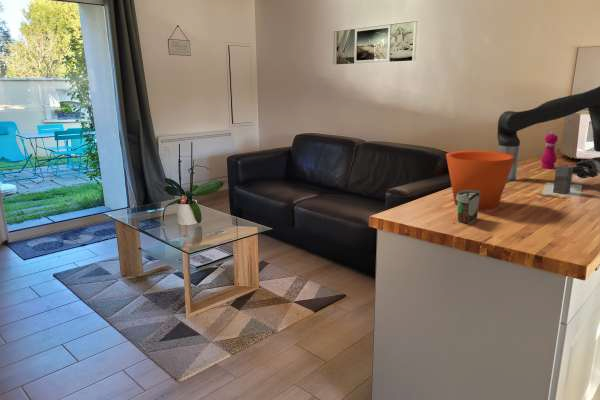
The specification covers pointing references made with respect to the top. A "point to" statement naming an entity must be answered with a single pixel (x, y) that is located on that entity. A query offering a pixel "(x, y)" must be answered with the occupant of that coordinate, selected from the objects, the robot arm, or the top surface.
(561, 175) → the charcoal link
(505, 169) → the flowerpot
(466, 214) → the food container
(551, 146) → the pepper mill
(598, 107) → the robot arm
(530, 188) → the top surface
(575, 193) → the plate
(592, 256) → the top surface
